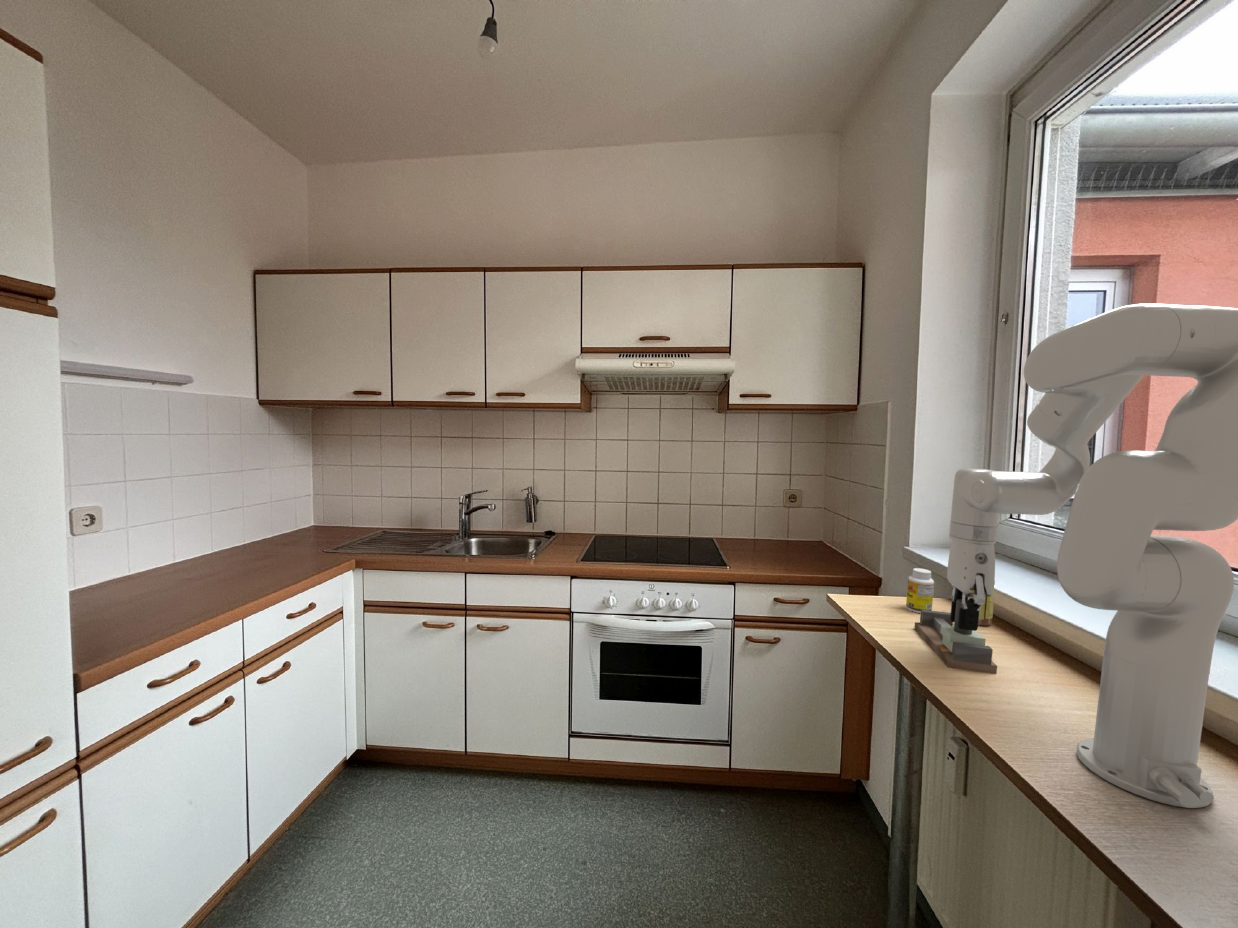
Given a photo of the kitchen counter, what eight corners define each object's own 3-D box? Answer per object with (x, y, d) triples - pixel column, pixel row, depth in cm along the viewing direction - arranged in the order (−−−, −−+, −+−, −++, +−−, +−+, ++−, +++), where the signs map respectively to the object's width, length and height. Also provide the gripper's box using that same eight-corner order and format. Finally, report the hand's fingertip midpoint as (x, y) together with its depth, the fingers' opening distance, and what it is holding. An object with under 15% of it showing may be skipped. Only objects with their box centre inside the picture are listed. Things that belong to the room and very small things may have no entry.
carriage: (983, 656, 101) (988, 607, 100) (948, 652, 102) (953, 604, 101) (972, 646, 106) (977, 599, 105) (939, 642, 107) (943, 596, 106)
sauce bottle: (982, 618, 128) (990, 537, 127) (997, 628, 122) (1006, 542, 120) (953, 616, 129) (961, 535, 127) (967, 625, 122) (976, 540, 121)
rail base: (996, 673, 98) (998, 649, 98) (948, 667, 100) (950, 644, 99) (953, 633, 117) (955, 613, 117) (914, 628, 119) (916, 608, 119)
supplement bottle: (904, 605, 135) (907, 565, 134) (928, 608, 133) (932, 568, 132) (907, 612, 130) (911, 571, 129) (933, 616, 128) (937, 574, 127)
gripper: (1015, 543, 93) (1005, 644, 95) (976, 526, 109) (967, 613, 111) (968, 539, 95) (958, 639, 96) (935, 523, 111) (927, 609, 112)
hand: (963, 624), depth 104 cm, fingers closed on carriage, 3 cm apart
